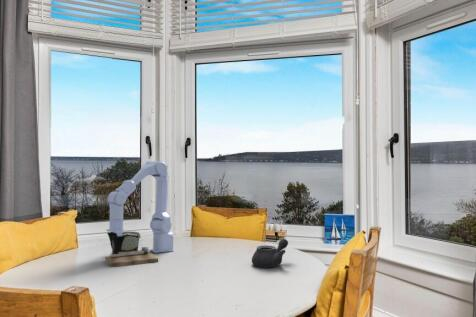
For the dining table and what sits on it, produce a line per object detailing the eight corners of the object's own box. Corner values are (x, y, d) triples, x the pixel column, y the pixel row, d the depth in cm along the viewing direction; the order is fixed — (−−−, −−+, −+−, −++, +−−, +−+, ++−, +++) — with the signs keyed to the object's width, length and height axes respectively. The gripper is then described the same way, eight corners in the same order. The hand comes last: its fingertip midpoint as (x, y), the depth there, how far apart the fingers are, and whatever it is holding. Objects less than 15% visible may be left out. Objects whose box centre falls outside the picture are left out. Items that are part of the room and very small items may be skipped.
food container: (144, 252, 184) (144, 231, 184) (139, 255, 178) (140, 234, 178) (119, 251, 185) (119, 231, 185) (114, 254, 179) (114, 233, 179)
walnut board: (150, 255, 178) (151, 252, 178) (158, 261, 167) (158, 258, 167) (105, 260, 169) (105, 257, 169) (110, 267, 158) (110, 263, 158)
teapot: (276, 272, 153) (277, 247, 153) (245, 265, 162) (245, 241, 163) (300, 263, 168) (300, 240, 168) (270, 257, 177) (270, 235, 177)
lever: (147, 251, 178) (147, 237, 178) (149, 253, 175) (149, 238, 175) (110, 255, 169) (110, 240, 170) (111, 257, 167) (112, 241, 167)
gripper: (103, 217, 174) (103, 247, 173) (110, 221, 161) (109, 254, 161) (119, 216, 177) (119, 246, 177) (127, 220, 165) (127, 252, 164)
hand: (115, 250), depth 169 cm, fingers open, 7 cm apart
